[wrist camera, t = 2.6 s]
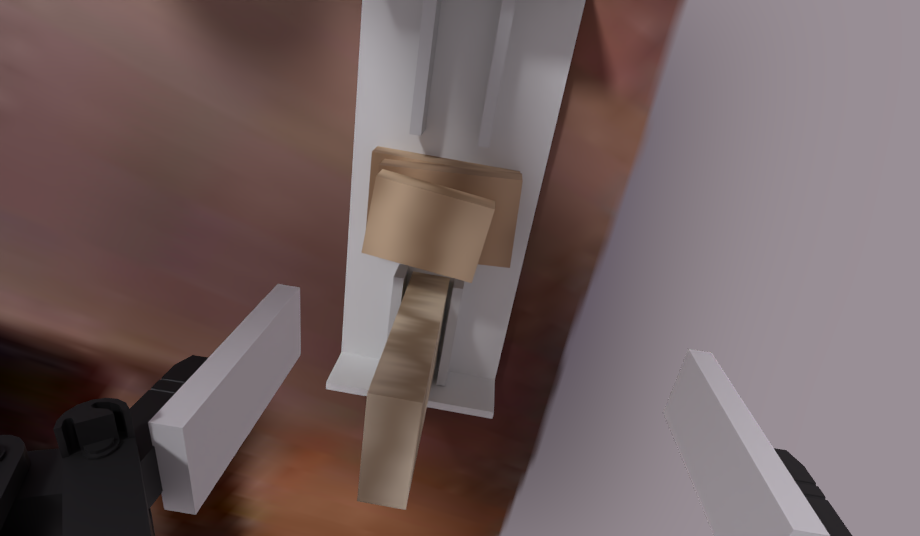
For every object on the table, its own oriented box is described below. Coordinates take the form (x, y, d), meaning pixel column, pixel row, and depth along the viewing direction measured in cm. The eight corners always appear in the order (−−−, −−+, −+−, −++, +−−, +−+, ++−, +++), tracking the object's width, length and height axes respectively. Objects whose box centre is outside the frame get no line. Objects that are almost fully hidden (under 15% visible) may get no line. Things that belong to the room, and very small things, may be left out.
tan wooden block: (402, 357, 50) (357, 501, 35) (413, 271, 46) (367, 393, 31) (435, 363, 50) (405, 509, 35) (450, 278, 46) (422, 403, 31)
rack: (344, 351, 52) (326, 388, 47) (370, -62, 36) (346, -78, 30) (493, 378, 52) (492, 418, 47) (589, -24, 35) (604, -33, 30)
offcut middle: (382, 243, 43) (377, 252, 41) (384, 158, 39) (378, 164, 38) (509, 257, 42) (509, 268, 40) (521, 173, 39) (522, 180, 37)
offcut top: (367, 242, 40) (361, 252, 39) (382, 168, 38) (376, 176, 36) (473, 271, 41) (471, 283, 39) (495, 200, 38) (494, 209, 36)
